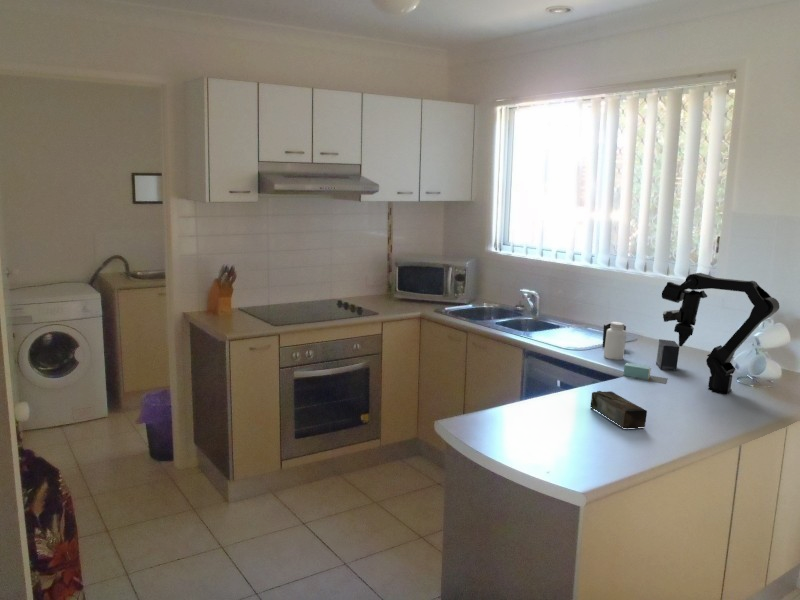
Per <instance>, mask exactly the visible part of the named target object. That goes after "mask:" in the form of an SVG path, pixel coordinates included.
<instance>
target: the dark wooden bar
mask: <svg viewBox="0 0 800 600" xmlns="http://www.w3.org/2000/svg"><path fill="white" fill-rule="evenodd" d="M590 407H592V408H593V409H595V410H597V411H598V412H600V413H601V414H603V415H604V416H606V417H607V418H609V419H610V420H612V421H614V422H615V423H617V424H618V425H620V426H621V427H623V428H638V427H646V422H647V416H648V415H647V413H648V410H646V409H644V408H643V407H641V406H638V405H637V404H635V403H633V402H631V401H629V400H628V399H626V398H624V397H622V396H620V395H618V394H617V393H615V392H613V391H602V390H597V391H593V392H591V399H590ZM590 407H589V408H590Z"/></svg>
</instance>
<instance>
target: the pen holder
mask: <svg viewBox="0 0 800 600" xmlns="http://www.w3.org/2000/svg"><path fill="white" fill-rule="evenodd" d="M610 326H611V322H610V323H608V324H603V333H602V347H603V348H605V340H606V332H607V330H608V329H609V328H611V327H610ZM623 330H625V331H626V330H627V326H626V325H625V324H624V329H623Z"/></svg>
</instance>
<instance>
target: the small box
mask: <svg viewBox="0 0 800 600" xmlns="http://www.w3.org/2000/svg"><path fill="white" fill-rule="evenodd" d="M679 353H680V346H679V344H678V343H676V341H675V340H671V339H670V340H668V339H660V338H659V339H658V346H657V355H656V361H655V364H656V366H657V367H658V369H659V370H660V371H669V372H677V368H678V359H679Z"/></svg>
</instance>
